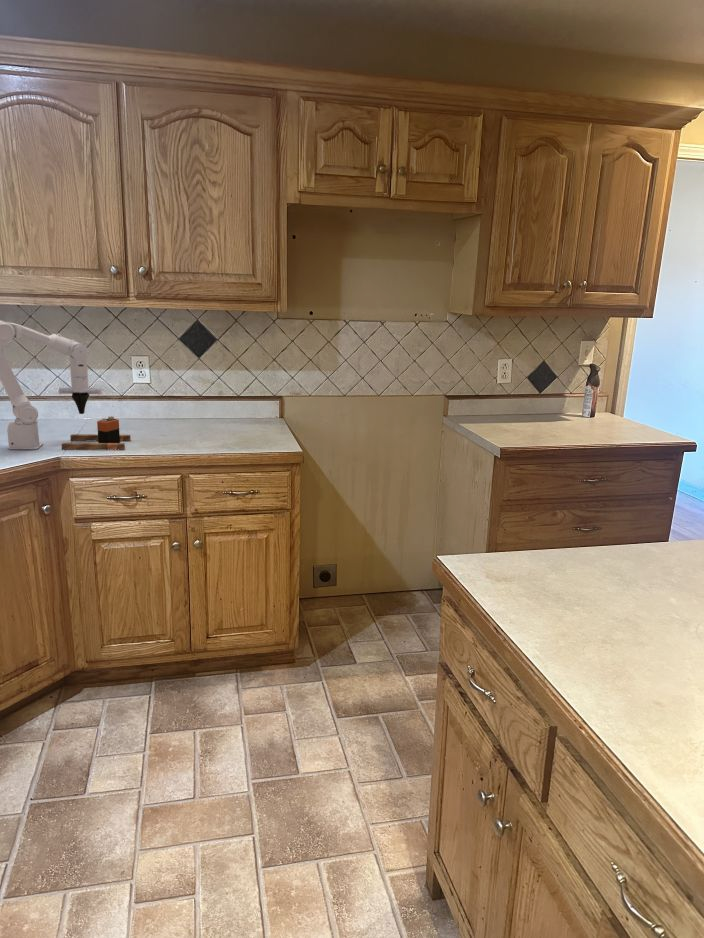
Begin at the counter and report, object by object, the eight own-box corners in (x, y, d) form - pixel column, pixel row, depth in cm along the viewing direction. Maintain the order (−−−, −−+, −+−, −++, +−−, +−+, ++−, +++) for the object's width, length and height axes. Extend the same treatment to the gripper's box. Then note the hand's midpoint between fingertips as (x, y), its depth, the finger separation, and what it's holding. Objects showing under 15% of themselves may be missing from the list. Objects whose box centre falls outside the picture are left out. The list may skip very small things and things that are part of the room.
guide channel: (61, 449, 238) (61, 444, 237) (71, 439, 252) (71, 434, 252) (123, 450, 241) (123, 444, 241) (130, 439, 255) (130, 434, 255)
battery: (120, 443, 250) (119, 416, 247) (107, 447, 244) (105, 420, 241) (111, 441, 252) (110, 415, 249) (97, 445, 246) (96, 418, 243)
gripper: (55, 377, 239) (58, 415, 243) (98, 378, 241) (100, 416, 245) (60, 374, 246) (63, 411, 250) (102, 375, 248) (104, 412, 252)
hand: (81, 413), depth 248 cm, fingers closed
